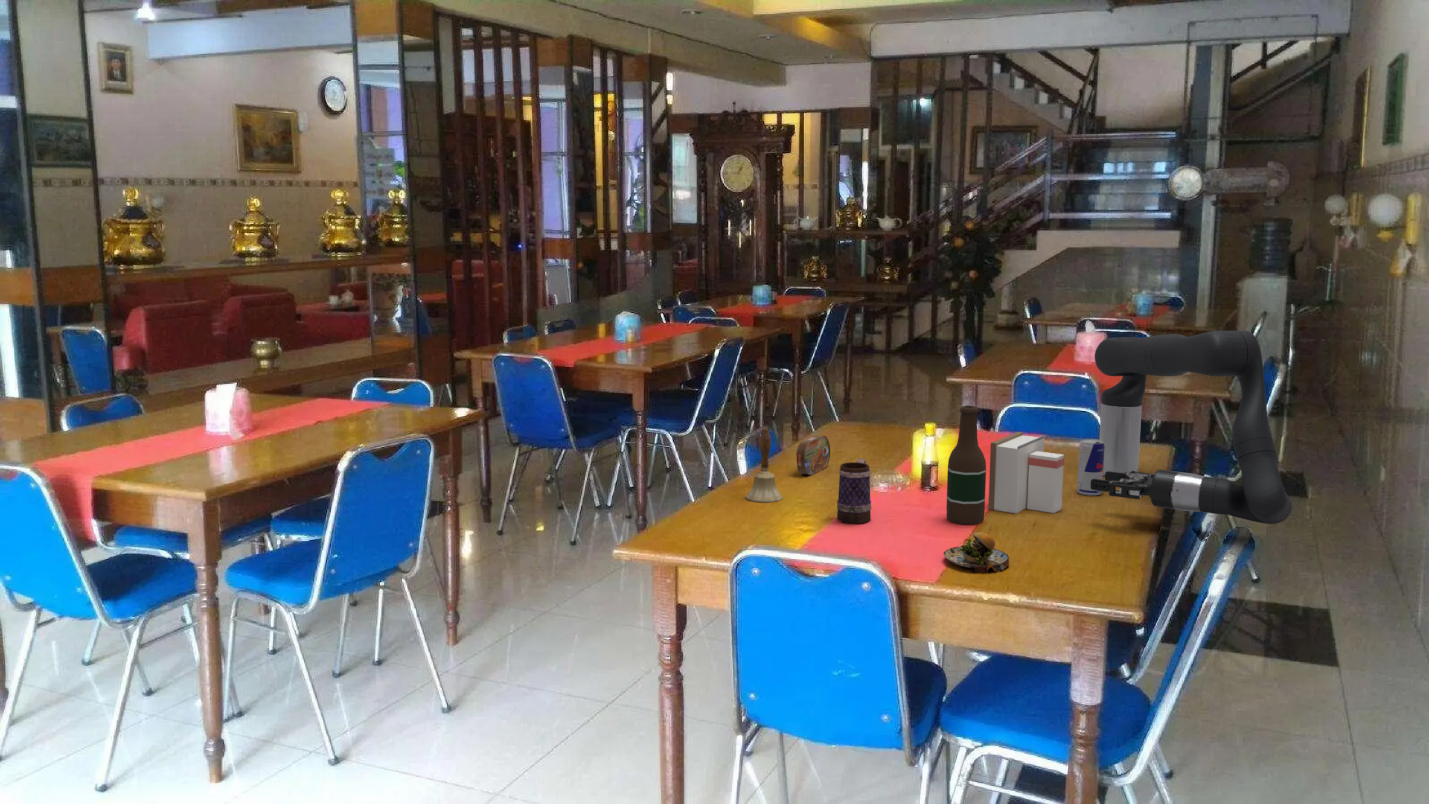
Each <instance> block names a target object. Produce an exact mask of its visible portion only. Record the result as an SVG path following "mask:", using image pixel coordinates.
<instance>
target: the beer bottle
mask: <svg viewBox="0 0 1429 804" xmlns="http://www.w3.org/2000/svg"><path fill="white" fill-rule="evenodd" d="M959 412H960V418H959V428H958V429H959V430H958V438H957V442H956V445H955V447H954V448H953V449H952V451H951V453H950V455H949V457H948V463H947V476H946V477H947V478H946V479H947V480H946V481H947V482H946V485H947V486H946V518H947V520H949V522H950V523H953V524H957V525H963V526H964V525H965V526H967V525H972V526H973V525H978V524H980V523H982V522H984V521H985V509H986V508H985V506H986V480H987V462H986V461H987V460H986V457H985V454H984V453H983V451H982V450H981V448H980V446H979V442H978V419H977V418H978V415H977V414H978V413H979V409H978V407H976V406H974V405H963V406H960V408H959Z"/></svg>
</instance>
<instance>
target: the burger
mask: <svg viewBox="0 0 1429 804" xmlns="http://www.w3.org/2000/svg"><path fill="white" fill-rule="evenodd" d="M992 527H993V525H991V526H990V529H989V530H988V533H986V532H975V533H974V534H973V535H972V536H973V540H972V539H971V538H970V537H969V538H968V539H967V542H966V543H965V544H963V545H961V546H954V547H950V548H948V549H946V550H945V551H943V556H945V558H946V559H947V560H948V561H950V562H952V563H953V564H954V565H957V566H959V567H960V566H961V567H964V568H969V569H970V568H972V569H974V571H975V573H976V574H988V571H989V569H990V568H992V569H993V570H992V571H994V572H996V573H999V572H1001V571H1002V572H1003V571H1004V570H1005V569H1006V568H1007V567H1008V568H1009V566H1010V557H1009V555H1008V553H1006V552H1005V551H1003V550H1000V549H997V548H995V546H996V542H995V540H994V538H993V537H992V535H991V534H989V533H990V532H991V529H992Z"/></svg>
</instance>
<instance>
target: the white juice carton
mask: <svg viewBox="0 0 1429 804" xmlns="http://www.w3.org/2000/svg"><path fill="white" fill-rule="evenodd" d="M1064 465H1065V454H1061V453H1053V452H1047V451H1044V452H1040V451H1036V452H1034V453H1031V454H1030V456H1029V479H1028V502H1027V508H1026V509H1027V510H1032V511H1038V512H1045V513H1050V514H1056V513H1057V512H1059V511H1060V510H1062V504H1063V502H1062V500H1063V481H1064Z"/></svg>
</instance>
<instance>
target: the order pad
mask: <svg viewBox="0 0 1429 804" xmlns="http://www.w3.org/2000/svg"><path fill="white" fill-rule="evenodd" d="M1036 451H1040V452H1045V435H1041V436H1032V435H1031V436H1030V435H1024V432H1023V431H1022V432H1021V431H1016V432H1014V433H1012V434H1010V435H1006V436H1004V437H1001V438H999V439H996V440H994V441H992V442H990V452H989V454H990V455H989V456H990V457H989V458H990V459H989V479H988V480H989V481H988V485H989V486H988V506H987V509H988V510H992V511H999V512H1005V513H1011V514H1012V513H1013V514H1018V513H1020V512H1022V511H1023V510H1025V509H1027V502H1028V479H1029V456H1030V454H1031V453H1034V452H1036Z"/></svg>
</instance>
